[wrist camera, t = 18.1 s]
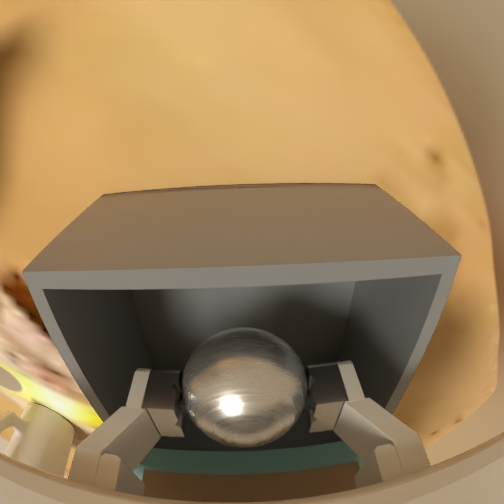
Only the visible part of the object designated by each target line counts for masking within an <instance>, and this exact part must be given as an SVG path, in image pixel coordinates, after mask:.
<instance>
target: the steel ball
mask: <svg viewBox="0 0 504 504" xmlns="http://www.w3.org/2000/svg"><path fill="white" fill-rule="evenodd" d="M181 390H182V398H183V402H184V405H185V408H186V410H187V412H188V414H189V416H190V418H191V420H192V421H193V422H194V424H195V425H196V426H197V427H198V428H199V429H200V430H201V431H202V432H203V433H204V434H206V435H207V436H209V437H210V438H212V439H213V440H215V441H217V442H220V443H222V444H225V445H229V446H234V447H243V448H247V447H256V446H261V445H265V444H268V443H270V442H272V441H274V440H276V439H278V438H280V437H281V436H283V435H284V434H285V433H287V432H288V431H289V430H290V429H291V428H292V427H293V426H294V424H295V423H296V422H297V420H298V419H299V417H300V415H301V414H302V412H303V409H304V407H305V404H306V399H307V392H308V383H307V376H306V372H305V369H304V366H303V364H302V362H301V360H300V358H299V356H298V355H297V353H296V352H295V351H294V350H293V348H292V347H291V346H290V345H289V344H287V343H286V342H285V341H284V340H283V339H281V338H280V337H278V336H276V335H274V334H272V333H270V332H268V331H265V330H261V329H256V328H249V327H239V328H232V329H227V330H224V331H221V332H218V333H216V334H214V335H212V336H211V337H209V338H208V339H206V340H205V341H203V342H202V343H201V344H200V345H199V346H198V347H197V348H196V349H195V351H194V352H193V353H192V355H191V356H190V358H189V360H188V362H187V364H186V366H185V368H184V372H183V377H182V389H181Z"/></svg>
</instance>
